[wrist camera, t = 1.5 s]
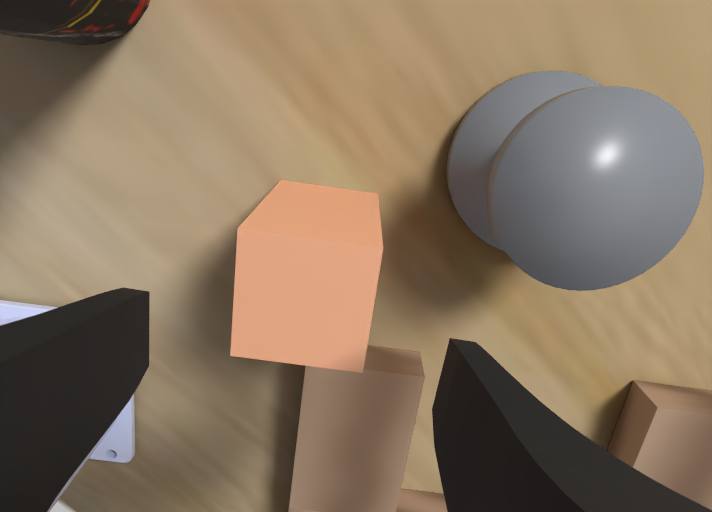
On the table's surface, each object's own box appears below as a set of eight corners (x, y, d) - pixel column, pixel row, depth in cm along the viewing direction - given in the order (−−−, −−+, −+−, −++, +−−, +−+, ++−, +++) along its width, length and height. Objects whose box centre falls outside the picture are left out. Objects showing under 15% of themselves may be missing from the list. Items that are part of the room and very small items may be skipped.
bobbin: (431, 236, 20) (453, 289, 15) (466, 58, 18) (506, 48, 13) (594, 259, 21) (671, 318, 15) (650, 85, 18) (762, 86, 13)
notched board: (287, 533, 26) (281, 568, 24) (311, 338, 22) (306, 361, 20) (651, 578, 27) (672, 615, 25) (738, 394, 23) (771, 422, 21)
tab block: (273, 270, 21) (230, 355, 15) (280, 180, 20) (237, 228, 13) (364, 283, 21) (362, 373, 15) (377, 193, 20) (383, 248, 13)
